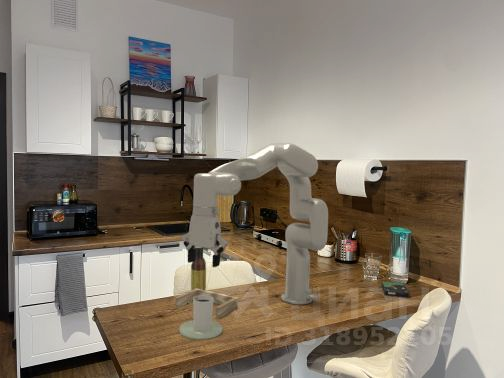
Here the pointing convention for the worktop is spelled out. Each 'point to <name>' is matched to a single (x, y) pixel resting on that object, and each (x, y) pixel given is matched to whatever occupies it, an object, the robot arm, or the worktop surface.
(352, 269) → the worktop surface
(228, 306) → the frame
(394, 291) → the disk drive
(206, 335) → the disc
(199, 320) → the white coffee cup
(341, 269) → the worktop surface
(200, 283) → the sauce bottle
